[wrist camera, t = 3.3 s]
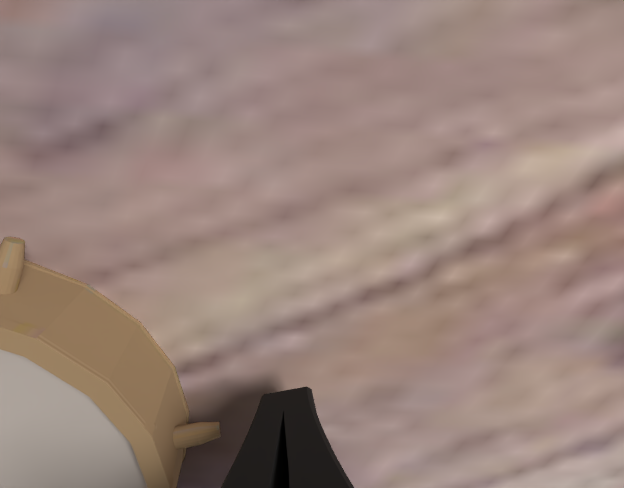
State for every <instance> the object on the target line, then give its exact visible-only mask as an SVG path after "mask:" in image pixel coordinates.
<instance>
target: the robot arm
mask: <svg viewBox="0 0 624 488" xmlns="http://www.w3.org/2000/svg"><path fill="white" fill-rule="evenodd" d="M221 488H354V487H353V485H352V484H351V482H350V480H349V479H348V477H347V475H346V474H345V472H344V470H343V468H342V466H341V465H340V463H339V461H338V459H337V457H336V455H335V454H334V452H333V450H332V448H331V446H330V443H329V441H328V439H327V437H326V435H325V433H324V431H323V428H322V426H321V424H320V421H319V418H318V416H317V413H316V408H315V403H314V399H313V394H312V390H311V389H310V388H308V387H302V388H297V389H291V390H286V391H280V392H275V393H269V394H264V395H263V397H262V398H261V400H260V403H259V406H258V409H257V412H256V414H255V417H254V419H253V422H252V424H251V427H250V429H249V431H248V434H247V436H246V438H245V440H244V442H243V445H242V447H241V449H240V451H239V453H238V455H237V457H236V460H235V462H234V464H233V466H232V467H231V469H230V471H229V473H228V475H227V477H226V479H225V481H224V483H223V484H222V486H221Z"/></svg>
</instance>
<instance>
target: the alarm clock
mask: <svg viewBox="0 0 624 488" xmlns="http://www.w3.org/2000/svg"><path fill="white" fill-rule="evenodd" d="M24 253H25V241H24V240H22V239H20V238H16V237H5V238H4V240H3V242H2V243H1V245H0V488H177V483H178V478H179V474H180V469H181V464H182V462H183V460H184V458H185V454H186V448H188V447H192V446H197V445H201V444H204V443H206V442H208V441H211V440H213V439H216V438H218V437H220V436H221V432H220V423H219V422H196V423H191V424H188V421H189V409H188V406H187V402H186V399H185V396H184V393H183V390H182V387H181V384H180V381H179V378H178V375H177V372H176V369H175V366H174V365H173V364H172V362H171V361H170V360H169V358H168V357H167V356H166V355H165V353H164V352H163V351H162V349H161V348H160V347H159V346H158V344H157V343H156V342H155V340H154V339H153V338H152V336H151V335H150V334H149V333H148V331H147V330H146V329H145V327H144V326H143V325H142V324H141V322H139V321H138V320H137V319H135V318H134V317H132V316H131V315H130V314H128V313H127V312H126V311H124V310H123V309H121V308H120V307H119V306H117V305H116V304H114V303H113V302H112V301H110V300H109V299H108V298H106V297H105V296H103V295H102V294H101V293H99V292H98V291H96V290H95V289H94V288H92V287H91V286H90V285H88V284H86V283H83V282H81V281H78V280H76V279H73V278H70V277H68V276H65V275H63V274H60V273H58V272H55V271H52V270H50V269H47V268H45V267H42V266H40V265H37V264H34V263H32V262H29V261H27V260H24Z"/></svg>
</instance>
